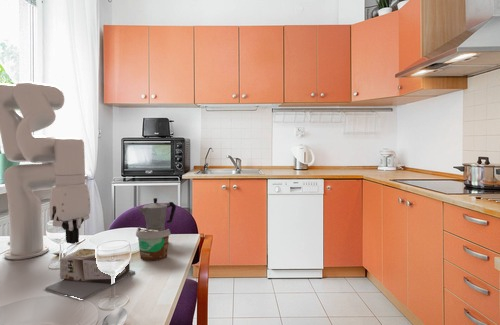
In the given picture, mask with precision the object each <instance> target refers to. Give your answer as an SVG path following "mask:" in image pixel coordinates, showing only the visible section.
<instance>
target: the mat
mask: <svg viewBox="0 0 500 325" xmlns="http://www.w3.org/2000/svg"><path fill="white" fill-rule="evenodd" d="M134 274H136V271H135V270H132V269H131V270H130V271H129V272H128V273H126V274H125V275H124V276H122V277H121V278H120V279H118V280H117V281H116V282H115V284H117V283H119V282H121V281H123V280H124V279H126V278H128V277H131V276H132V275H134ZM111 286H112V285H111V283H100V282H88V281H75V280H62V279H61V280H60V281H58V282H55V283H53V284H50V285H48V286H46V287H44V290H45V291H48V292H51V293H55V294H58V295H61V296H64V295H67V296H66V297H68V296H74V297H77V298H80V299H84V300H85V299H88V298H90V297H92V296H93V295H95V294H97V293H99V292H102V291H104V290H105V289H107V288H109V287H111Z"/></svg>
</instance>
